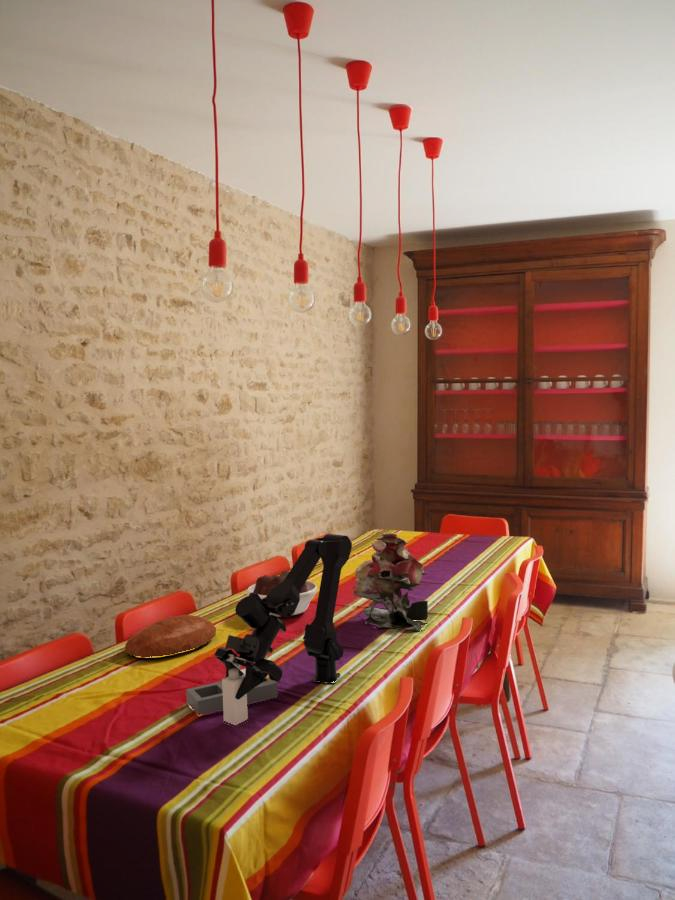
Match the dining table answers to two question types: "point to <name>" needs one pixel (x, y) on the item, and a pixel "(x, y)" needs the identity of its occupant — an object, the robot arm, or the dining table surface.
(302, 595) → the white dessert bowl
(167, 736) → the dining table surface
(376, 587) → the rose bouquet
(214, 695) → the grey boxy piece
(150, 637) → the bread
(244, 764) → the dining table surface
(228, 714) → the plug
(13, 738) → the dining table surface
